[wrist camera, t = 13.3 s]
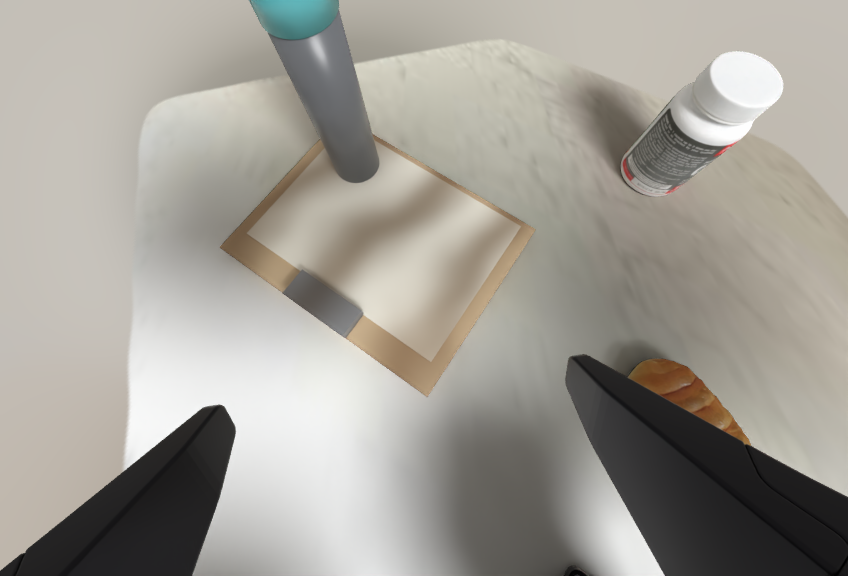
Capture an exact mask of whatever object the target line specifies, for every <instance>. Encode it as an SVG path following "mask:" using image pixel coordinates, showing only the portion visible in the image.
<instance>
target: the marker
mask: <svg viewBox="0 0 848 576" xmlns="http://www.w3.org/2000/svg"><path fill="white" fill-rule="evenodd" d="M249 1H250V3H251V5H252V7H253V9H254V11H255V13H256V15H257V17H258V19H259V21H260V23H261V25H262V27H263V28H264V29H265V30H266V31H267V32H268V34H269V36H270V38H271V40H272V42H273V44H274V46H275V48H276V50H277V52H278V54H279V56H280V58H281V60H282V62H283V64H284V67H285V69H286V70H287V73H288V75H289V77H290V79H291V81H292V83H293V85H294V87H295V89H296V91H297V93H298V95H299V97H300V99H301V101H302V103H303V105H304V107H305V109H306V111H307V113H308V115H309V117H310V119H311V121H312V123H313V125H314V127H315V129H316V131H317V133H318V135H319V137H320V139H321V141H322V143H323V145H324V147H325V149H326V151H327V153H328V155H329V157H330V159H331V162H332V164H333V166H334V168H335V170H336V172H337V174H338V175H339V176H340V177H341V178H342V179H343V180H345V181H347V182H350V183H361V182H364V181H367V180H369V179H370V178H372V177H373V176H374V175H375V173H376V172H377V170H378V168H379V157H378V153H377V149H376V146H375V142H374V138H373V135H372V131H371V127H370V123H369V120H368V116H367V112H366V109H365V105H364V101H363V98H362V94H361V90H360V86H359V83H358V79H357V75H356V72H355V68H354V64H353V61H352V57H351V53H350V49H349V46H348V42H347V38H346V35H345V31H344V27H343V24H342V20H341V16H340V13H339V9H338V8H339V1H338V0H249Z"/></svg>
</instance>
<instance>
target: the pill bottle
mask: <svg viewBox="0 0 848 576" xmlns="http://www.w3.org/2000/svg"><path fill="white" fill-rule="evenodd" d="M782 91H783V81H782V78H781V76H780V74H779V72H778V71H777V70H776V68H775V67H774V66H773V65H772V64H771V63H769V62H768V61H766V60H765V59H763V58H761V57H760V56H757V55H755V54H752V53H748V52H742V51H734V52H727V53H724V54H722V55H720V56H718V57H717V58H715V59H714V60H713V61H712V62H711V63H710V64H709V65H708V67H707V68H706V69H705V70H704V71H703V72H702V73H701V74H700V75H699V76H698V77H697V79H696V81H695V82H693V83H690V84H688V85H687V86H685V87H683V88H682V89H681V90H680V91H679V92H678V93H677V94H676V95H675V96H674V97H673V98H672V100H671V101H670V102H669V103H668V104H667V105H666V107H665V108H664V109H663V110H662V111H661V112H660V114H659V115H658V116H657V117H656V118H655V120H654V121H653V122H652V123H651V124H650V125H649V127H648V128H647V129H646V130H645V131H644V132H643V134H642V135H641V136H640V137H639V138H638V139H637V141H636V142H635V143H634V144H633V145H632V146H631V147H630V148H629V149H628V151H627V152H626V153H625V155H624V156H623V158H622V161H621V173H622V176H623V178H624V180H625V181H626V182H627V184H628V185H629V186H631V187H632V188H633V189H635V190H636V191H638V192H640V193H642V194H644V195H647V196H653V197H659V196H665V195H668V194H670V193H672V192H673V191H675V190H676V189H678V188H679V187H680V186H682V185H683V184H684V183H685V182H687V181H688V180H689V179H690V178H692V177H693V176H694V175H695V174H697V173H698V172H699V171H701V170H702V169H703V168H704V167H706V166H707V165H708V164H709V163H711V162H712V161H713V160H715V159H716V158H717V157H718V156H720V155H721V154H722V153H724V152H725V151H726V150H727V149H729V148H730V147H731V146H732V145H734V144H735V143H736V142H738V141H739V140H740V139H741V138H742V137H743V136H744V135H745V134H746V133H747V132H748V131H749V129H750V128H751V126H752V123H753V120H755V119H756V118H757V117H758V116H759V115H760V114H762V113H763V112H764V111H765V110H767V108H769V107H770V106H771V105H772V104H774V103H775V102H776V101H777V100H778V99H779V97H780V96H781V94H782Z"/></svg>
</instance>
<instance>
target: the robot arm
mask: <svg viewBox="0 0 848 576" xmlns="http://www.w3.org/2000/svg"><path fill="white" fill-rule="evenodd" d="M565 381H566V386H567V389H568V392H569V394H570V396H571V399H572V401H573V403H574V405H575V408H576V410H577V412H578V415H579V417H580V419H581V422H582V424H583V426H584V429H585V431H586V433H587V436H588V438H589V440H590V442H591V444H592V446H593V448H594V450H595V452H596V453H597V455H598V457H599V459H600V460H601V462H602V464H603V466H604V468H605V469H606V471H607V473H608V475H609V477H610V478H611V480H612V482H613V484H614V485H615V487H616V489H617V491H618V493H619V494H620V496H621V498H622V500H623V502H624V503H625V505H626V507H627V509H628V511H629V512H630V514H631V516H632V518H633V519H634V521H635V523H636V525H637V527H638V528H639V530H640V532H641V534H642V536H643V537H644V539H645V541H646V543H647V545H648V546H649V548H650V550H651V552H652V553H653V555H654V557H655V559H656V561H657V562H658V564H659V566H660V568H661V570H662V571H663V573H664V575H665V576H848V497H847V496H845V495H843V494H841V493H839V492H837V491H835V490H833V489H831V488H829V487H827V486H825V485H823V484H821V483H819V482H817V481H815V480H813V479H811V478H809V477H807V476H805V475H804V474H802V473H800V472H798V471H796V470H794V469H792V468H791V467H789V466H787V465H785V464H783V463H781V462H779V461H778V460H776V459H774V458H772V457H770V456H768V455H767V454H765V453H763V452H761V451H759V450H758V449H756V448H754V447H752V446H750V445H749V444H744V442H743V441H741V440H739V439H738V438H736V437H734V436H732V435H730V434H729V433H727V432H725V431H723V430H721V429H720V428H718V427H716V426H714V425H712V424H711V423H709V422H707V421H705V420H703V419H702V418H700V417H698V416H696V415H694V414H693V413H691V412H689V411H687V410H685V409H684V408H682V407H680V406H678V405H676V404H675V403H673V402H671V401H669V400H667V399H666V398H664V397H662V396H660V395H658V394H657V393H655V392H653V391H651V390H649V389H648V388H646V387H644V386H642V385H640V384H639V383H637V382H635V381H633V380H631V379H630V378H628V377H626V376H624V375H622V374H621V373H619V372H617V371H615V370H613V369H612V368H610V367H608V366H606V365H604V364H603V363H601V362H599V361H597V360H595V359H594V358H592V357H590V356H588V355H585V354H582V355H575V356H571V357H570V358H569V360H568V365H567V372H566V379H565ZM235 434H236V429H235V425H234V423H233V421H232V419H231V418H230V416H229V414H228V412H227V410H226V409H225V407H224V406H222V405H213V406H207V407H204V408H202V409H201V410H199V411H198V412H197V413H196V414H195V415H193V416H192V417H191V418H190V419H188V420H187V421H186V422H185V423H183V424H182V425H181V426H180V427H178V428H177V429H176V430H175V431H173V432H172V433H171V434H170V435H168V436H167V437H166V438H165V439H163V440H162V441H161V442H160V443H159V444H157V445H156V446H155V447H154V448H152V449H151V450H150V451H149V452H147V453H146V454H145V455H144V456H142V457H141V458H140V459H139V460H137V461H136V462H135V463H134V464H132V465H131V466H130V467H129V468H127V469H126V470H125V471H124V472H122V473H121V474H120V475H119V476H117V477H116V478H115V479H114V480H113V481H111V482H110V483H109V484H108V485H106V486H105V487H104V488H103V489H102V490H100V491H99V492H98V493H96V494H95V495H94V496H93V497H92V498H90V499H89V500H88V501H86V502H85V503H84V504H83V505H82V506H80V507H79V508H78V509H76V510H75V511H74V512H73V513H72V514H70V515H69V516H68V517H67V518H65V519H64V520H63V521H62V522H60V523H59V524H58V525H57V526H55V527H54V528H53V529H52V530H50V531H49V532H48V533H47V534H45V535H44V536H43V537H42V538H41V539H39V540H38V541H37V542H35V543H34V544H33V545H32V546H30V547H29V548H28V549H27V550H26V553H23V554H20V555H19V556H18V557H17V558H15V559H14V560H13V561H12V562H11V563H9V564H8V565H7V566H6V567H4V568H3V569H2V570H1V571H0V576H192V574H193V571H194V568H195V566H196V563H197V560H198V557H199V554H200V552H201V549H202V546H203V543H204V540H205V538H206V535H207V532H208V529H209V526H210V523H211V521H212V518H213V515H214V512H215V509H216V506H217V503H218V500H219V497H220V494H221V490H222V487H223V483H224V479H225V475H226V471H227V467H228V463H229V459H230V455H231V451H232V447H233V443H234V439H235ZM575 575H579V576H589V575H588V574H587V573H585V572H584V571H583V570H581V569H580V568H579V567H577V566H570V567H569V568H568V569H567V570H566V572H565V575H564V576H575Z"/></svg>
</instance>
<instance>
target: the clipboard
mask: <svg viewBox="0 0 848 576" xmlns="http://www.w3.org/2000/svg"><path fill="white" fill-rule="evenodd" d="M372 135H373V134H372ZM373 138H374V142H375V146H376V149H377V153H378V157H379V168H378V170H377V172H376V173H375V175H374V176H373V177H372V178H370V179H369V180H367V181H364V182H361V183H350V182H347V181H345V180H343V179H342V178H341V177H340V176H339V175H338V174H337V172H336V170H335V168H334V166H333V164H332V162H331V159H330V157H329V155H328V153H327V151H326V149H325V147H324V145H323V143H322V141H321V139H320V140H319V141H318V142H317V143H316V144H315V145H314V146H313V147H312V148H311V149H310V150H309V151H308V152H307V154H306V155H305V156H304V157H303V158H302V159H301V160H300V161H299V162H298V163H297V164H296V165H295V166H294V168H293V169H292V170H291V171H290V172H289V173H288V174H287V175H286V176H285V177H284V178H283V179H282V180H281V182H280V183H279V184H278V185H277V186H276V187H275V188H274V189H273V190H272V191H271V192H270V193H269V194H268V196H267V197H266V198H265V199H264V200H263V201H262V202H261V203H260V204H259V205H258V206H257V207H256V209H255V210H254V211H253V212H252V213H251V214H250V215H249V216H248V217H247V218H246V219H245V220H244V221H243V223H242V224H241V225H240V226H239V227H238V228H237V229H236V230H235V231H234V232H233V233H232V234H231V235H230V237H229V238H228V239H227V240H226V241H225V242H224V243H223V244H222V245H221V246H220V248H221V249H223V250H224V251H225V252H227V253H228V254H229V255H231V256H232V257H234V258H235V259H236V260H238V261H239V262H241V263H242V264H243V265H245V266H246V267H248V268H249V269H250V270H252V271H253V272H254V273H256V274H257V275H259V276H260V277H261V278H263V279H264V280H266V281H267V282H268V283H270V284H271V285H272V286H274V287H275V288H277V289H278V290H279V291H281V292H282V293H283V294H284V295H286V296H287V297H288V298H290V299H291V300H293V301H294V302H295V303H297V304H298V305H300V306H301V307H302V308H304V309H305V310H307V311H308V312H309V313H311V314H312V315H313V316H315V317H316V318H318V319H319V320H320V321H322V322H323V323H325V324H326V325H327V326H329V327H330V328H332V329H333V330H334V331H336V332H337V333H338V334H340V335H341V336H343V337H344V338H346V339H347V340H349V341H350V342H352V343H353V344H354V345H356V346H357V347H359V348H360V349H361V350H363V351H364V352H366V353H367V354H368V355H370V356H371V357H372V358H374V359H375V360H377V361H378V362H379V363H381V364H382V365H384V366H385V367H386V368H388V369H389V370H391V371H392V372H393V373H395V374H396V375H397V376H399V377H400V378H402V379H403V380H404V381H406V382H407V383H409V384H410V385H411V386H413V387H414V388H416V389H417V390H418V391H420V392H421V393H422V394H424V395H425V396H427V397H428V395H429V394H430V392H431V390H432V389H433V387H434V386H435V384H436V383H437V381H438V380H439V378H440V377H441V375H442V373H443V372H444V370H445V369H446V367H447V366H448V364H449V363H450V361H451V360H452V358H453V357H454V355H455V353H456V352H457V350H458V349H459V347H460V346H461V344H462V343H463V341H464V340H465V338H466V336H467V335H468V333H469V332H470V330H471V329H472V327H473V326H474V324H475V323H476V321H477V319H478V318H479V316H480V315H481V313H482V312H483V310H484V309H485V307H486V306H487V304H488V303H489V301H490V299H491V298H492V296H493V295H494V293H495V292H496V290H497V289H498V287H499V286H500V284H501V282H502V281H503V279H504V278H505V276H506V275H507V273H508V272H509V270H510V269H511V267H512V266H513V264H514V262H515V261H516V259H517V258H518V256H519V255H520V253H521V252H522V250H523V249H524V247H525V245H526V244H527V242H528V241H529V239H530V238H531V236H532V235H533V233H534V232H535V230H536V229H534V228H532V227H531V226H529V225H527V224H525V223H524V222H522V221H520V220H519V219H517V218H515V217H513V216H512V215H510V214H508V213H507V212H505V211H503V210H501V209H500V208H498V207H496V206H495V205H493V204H491V203H489V202H488V201H486V200H484V199H483V198H481V197H479V196H478V195H476V194H474V193H472V192H471V191H469V190H467V189H466V188H464V187H462V186H460V185H459V184H457V183H455V182H454V181H452V180H450V179H448V178H447V177H445V176H443V175H442V174H440V173H438V172H436V171H435V170H433V169H431V168H430V167H428V166H426V165H424V164H423V163H421V162H419V161H418V160H416V159H414V158H412V157H411V156H409V155H407V154H406V153H404V152H402V151H400V150H399V149H397V148H395V147H394V146H392V145H390V144H388V143H387V142H385V141H383V140H382V139H380V138H378V137H376V136H375V135H373Z"/></svg>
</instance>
